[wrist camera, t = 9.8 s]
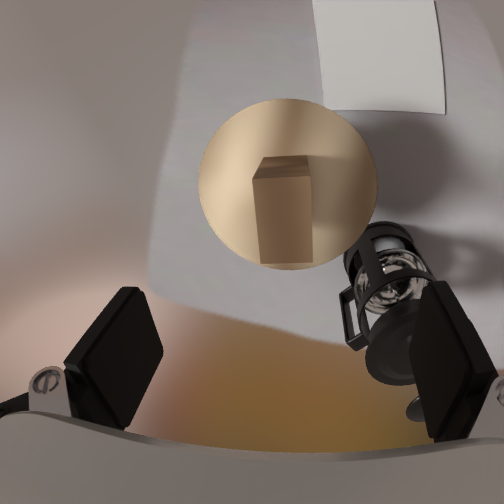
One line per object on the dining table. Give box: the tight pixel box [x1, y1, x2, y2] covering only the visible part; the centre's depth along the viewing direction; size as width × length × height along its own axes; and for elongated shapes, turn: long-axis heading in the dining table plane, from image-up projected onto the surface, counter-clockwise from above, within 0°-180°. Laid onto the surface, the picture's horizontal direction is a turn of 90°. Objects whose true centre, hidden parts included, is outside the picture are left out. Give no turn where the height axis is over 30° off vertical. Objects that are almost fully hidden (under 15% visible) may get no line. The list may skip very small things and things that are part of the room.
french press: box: [339, 221, 437, 422], centre depth 28 cm, size 12×9×23 cm
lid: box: [198, 99, 378, 270], centre depth 21 cm, size 13×13×7 cm
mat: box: [312, 0, 445, 114], centre depth 27 cm, size 14×14×1 cm
